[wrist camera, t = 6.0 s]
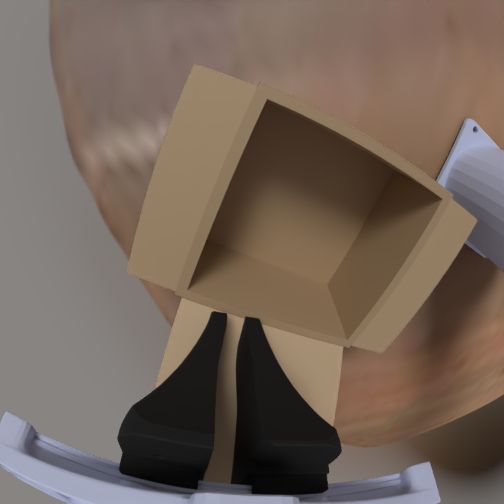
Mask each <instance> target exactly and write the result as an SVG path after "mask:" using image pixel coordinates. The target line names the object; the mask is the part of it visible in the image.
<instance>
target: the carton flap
mask: <svg viewBox="0 0 504 504" xmlns="http://www.w3.org/2000/svg"><path fill="white" fill-rule="evenodd" d="M213 311H217V312H223V311H220V310H217V309H214V308H211V307H208V306H205V305H202V304H199V303H196V302H193V301H190V300H187V299H184V298H182V299H181V301H180V304H179V308H178V311H177V314H176V317H175V320H174V324H173V327H172V330H171V333H170V337H169V340H168V343H167V347H166V350H165V354H164V357H163V360H162V364H161V367H160V371H159V374H158V378H157V381H156V385H155V389H156V388H157V387H158V386H159V385H160V384H162V383H163V382H164V381H165V380H166V379H167V378H168V377H169V376H170V375H171V374H172V373H173V372H174V371H175V370H176V369H177V367H178V366H179V365H180V364H181V363H182V362H183V360H184V359H185V358H186V357H187V355H188V354H189V353H190V351H191V350H192V348H193V347H194V346H195V344H196V343H197V341H198V339H199V338H200V336H201V334H202V333H203V331H204V329H205V327H206V325H207V323H208V321H209V318H210V315H211V312H213ZM223 313H226V312H223ZM244 320H245V319H244V318H241V317H238V316H235V315H232V314H229V313H227V326H226V331H225V335H224V340H223V344H222V349H221V354H220V358H219V363H218V374H217V388H216V407H215V438H214V449H213V452H212V455H211V459H210V462H209V465H208V468H207V470H206V472H205V475H204V479H203V481H207V482H215V483H225V484H231V476H232V467H233V456H234V445H235V433H236V419H237V395H236V356H237V347H238V342H239V339H240V335H241V331H242V327H243V324H244ZM262 327H263V330H264V332H265V335H266V337H267V340H268V342H269V344H270V347H271V349H272V351H273V353H274V355H275V357H276V359H277V361H278V363H279V364H280V366H281V368H282V370H283V371H284V373H285V374H286V376H287V378H288V379H289V381H290V382H291V383H292V385H293V386H294V388H295V389H296V390H297V391H298V393H299V394H300V395H301V396H302V398H303V399H304V400H305V401H306V402H307V403H308V404H309V405H310V407H311V408H312V409H313V410H314V411H315V412H316V413H317V414H318V415H319V416H321V417H322V418H323V419H324V420H325V421H326V422H328V423H329V424H330V425H331V426H333V424H334V418H335V411H336V404H337V397H338V390H339V382H340V373H341V364H342V354H343V347H342V346H338V345H334V344H331V343H327V342H323V341H319V340H316V339H312V338H308V337H305V336H301V335H298V334H294V333H291V332H287V331H284V330H280V329H277V328H274V327H270V326H267V325H264V324H262ZM155 389H154V390H155Z"/></svg>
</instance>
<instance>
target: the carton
mask: <svg viewBox="0 0 504 504" xmlns="http://www.w3.org/2000/svg"><path fill="white" fill-rule="evenodd" d="M452 197H453V194H452V193H451V192H449V191H448V190H447V189H445V188H444V187H443V186H442V185H440V184H439V183H438V182H436V181H435V180H434V179H432V178H431V177H430V176H428V175H427V174H425V173H424V172H423V171H421V170H420V169H418V168H417V167H416V166H414V165H413V164H411V163H410V162H408V161H407V160H405V159H404V158H402V157H401V156H399V155H398V154H396V153H395V152H393V151H392V150H390V149H389V148H387V147H386V146H384V145H382V144H381V143H379V142H377V141H376V140H374V139H373V138H371V137H369V136H368V135H366V134H364V133H363V132H361V131H359V130H357V129H356V128H354V127H352V126H350V125H349V124H347V123H345V122H343V121H341V120H339V119H338V118H336V117H334V116H332V115H330V114H328V113H326V112H324V111H322V110H320V109H318V108H316V107H314V106H312V105H310V104H308V103H306V102H304V101H302V100H300V99H298V98H296V97H294V96H291V95H289V94H287V93H285V92H283V91H280V90H278V89H276V88H273V87H271V86H269V85H266V84H264V83H261V82H260V83H259V85H258V86H255V85H253V84H250V83H248V82H245V81H242V80H240V79H237V78H234V77H232V76H229V75H226V74H223V73H221V72H218V71H215V70H212V69H209V68H206V67H203V66H200V65H196V64H194V65H193V68H192V70H191V72H190V74H189V77H188V79H187V81H186V84H185V86H184V88H183V91H182V93H181V96H180V98H179V101H178V103H177V106H176V108H175V111H174V114H173V116H172V119H171V121H170V124H169V127H168V130H167V132H166V135H165V138H164V141H163V144H162V147H161V149H160V152H159V155H158V158H157V161H156V164H155V168H154V171H153V174H152V177H151V180H150V184H149V187H148V190H147V194H146V197H145V201H144V204H143V208H142V211H141V215H140V219H139V223H138V227H137V230H136V234H135V238H134V243H133V247H132V251H131V255H130V260H129V264H128V269H127V273H128V274H131V275H133V276H136V277H138V278H141V279H143V280H146V281H149V282H151V283H154V284H157V285H159V286H162V287H165V288H168V289H170V290H173V291H175V294H174V295H177V296H180V297H183V298H186V299H188V300H191V301H194V302H197V303H200V304H203V305H206V306H209V307H212V308H215V309H218V310H221V311H224V312H227V313H230V314H233V315H236V316H239V317H242V318H245V316H247V317H254V318H259V319H260V321H261V324H265V325H268V326H271V327H275V328H278V329H282V330H285V331H288V332H292V333H295V334H299V335H302V336H306V337H310V338H313V339H317V340H321V341H324V342H328V343H332V344H336V345H340V346H343V347H347V348H350V346H355V347H359V348H363V349H367V350H371V351H375V352H379V353H383V352H384V351H385V350H386V348H387V347H388V346H389V345H390V344H391V343H392V342H393V340H394V339H395V338H396V337H397V336H398V334H399V333H400V332H401V331H402V330H403V328H404V327H405V326H406V325H407V324H408V322H409V321H410V320H411V319H412V317H413V316H414V315H415V314H416V312H417V311H418V310H419V308H420V307H421V306H422V305H423V303H424V302H425V301H426V299H427V298H428V297H429V295H430V294H431V292H432V291H433V290H434V288H435V287H436V285H437V284H438V283H439V281H440V280H441V278H442V277H443V275H444V274H445V273H446V271H447V270H448V268H449V267H450V265H451V264H452V262H453V261H454V259H455V257H456V256H457V254H458V253H459V251H460V250H461V248H462V246H463V245H464V243H465V241H466V240H467V238H468V236H469V235H470V233H471V231H472V230H473V228H474V226H475V224H476V223H477V221H478V220H477V219H476V218H475V217H474V216H473V215H471V214H470V213H469V212H468V211H467V210H465V209H464V208H463V207H462V206H461V205H459V204H458V203H457V202H456V201H454V200H453V199H452Z"/></svg>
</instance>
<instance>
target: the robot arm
mask: <svg viewBox="0 0 504 504" xmlns="http://www.w3.org/2000/svg"><path fill="white" fill-rule="evenodd" d="M473 128H474V129H475V130H474V132H473ZM436 182H438V183H439V184H440V185H442V186H443V187H444V188H445V189H447V190H448V191H449V192H451V193H452V194H453V197H452V199H453V200H454V201H456V202H457V203H458V204H459V205H461V206H462V207H463V208H464V209H465V210H467V211H468V212H469V213H470V214H471V215H473V216H474V217H475V218H476V219H477V220H478V221H477V223H476V224H475V226H474V228H473V230H472V231H471V233H470V235H469V236H468V238H467V240H466V241H465V244H466V245H468V246H469V247H470V248H472V249H473V250H474V251H476V252H477V253H478V254H480V255H481V256H482V257H484V258H488V259H489V260H491V261H492V262H493V263H494V264H495V265H496V266H497V267H498V268H499V269H500V270H501V271H502V272H503V273H504V151H503V150H501V149H500V148H499V147H498V146H497V145H496V144H495V143H494V142H493V140H492V139H491V138H490V137H489V136H488V135H487V134H486V133H485V132H484V131H483V130H482V129H481V128H480V127H479V125H478V124H477V123H476V122H475V121H474V120H472V119H468V118H467V119H465V121H464V123H463V125H462V127H461V130H460V132H459V134H458V136H457V139H456V141H455V143H454V145H453V147H452V149H451V151H450V154H449V156H448V158H447V160H446V162H445V164H444V166H443V168H442V170H441V172H440V174H439V176H438V178H437V179H436ZM226 326H227V313H223V312H217V311H213V312H211V315H210V318H209V321H208V323H207V325H206V327H205V329H204V331H203V333H202V334H201V336H200V338H199V339H198V341H197V343H196V344H195V346H194V347H193V348H192V350H191V351H190V353H189V354H188V355H187V357H186V358H185V359H184V360H183V362H182V363H181V364H180V365H179V366H178V367H177V369H176V370H175V371H174V372H173V373H172V374H171V375H170V376H169V377H168V378H167V379H166V380H165V381H164V382H163V383H162V384H160V385H159V386H158V387H157V388H156V389H155V390H153V391H152V392H151V393H150V394H148V395H147V396H146V397H144V398H143V399H141V400H140V401H139V402H137V403H136V404H134V405H133V406H132V407H131V409H130V410H129V412H128V413H127V415H126V417H125V418H124V420H123V422H122V424H121V427H120V430H119V434H118V442H119V445H120V447H121V449H122V452H123V454H122V458H121V462H120V464H119V463H116V462H113V461H110V460H106V459H103V458H100V457H97V456H94V455H91V454H88V453H86V452H83V451H80V450H78V449H75V448H73V447H70V446H68V445H65V444H62V443H60V442H58V441H55V440H53V439H51V438H49V437H47V436H44V435H42V434H40V433H38V432H36V431H35V429H34V428H33V426H32V425H31V424H29V423H28V422H27V421H25V420H23V419H21V418H19V417H18V416H16V415H14V414H12V413H10V412H8V411H6V412H5V414H4V416H3V419H2V420H1V423H0V466H1V467H3V468H4V469H5V470H7V471H8V472H9V473H11V474H12V475H13V476H15V477H17V478H19V479H20V480H22V481H24V482H26V483H28V484H29V485H31V486H33V487H35V488H37V489H39V490H41V491H43V492H45V493H47V494H49V495H51V496H53V497H55V498H57V499H59V500H61V501H64V502H66V503H68V504H437V503H439V502H440V497H439V493H438V489H437V486H436V482H435V479H434V475H433V472H432V468H431V465H430V462H424V463H420V464H416V465H413V466H410V467H407V468H406V469H404V470H403V471H401V472H400V473H398V474H393V475H388V476H383V477H378V478H372V479H366V480H359V481H351V482H343V483H333V484H328V481H327V474H328V473H329V467H328V465H329V464H330V463H331V462H332V461H334V460H335V459H336V458H337V457H338V456H339V455H340V453H341V451H342V449H341V444H340V440H339V437H338V434H337V431H336V429H335V428H334V427H333V426H331V425H330V424H329V423H328V422H326V421H325V420H324V419H323V418H322V417H321V416H319V415H318V414H317V413H316V412H315V411H314V410H313V409H312V408H311V407H310V405H309V404H308V403H307V402H306V401H305V400H304V399H303V398H302V396H301V395H300V394H299V393H298V391H297V390H296V389H295V388H294V386H293V385H292V383H291V382H290V381H289V379H288V378H287V376H286V374H285V373H284V371H283V370H282V368H281V366H280V364H279V363H278V361H277V359H276V357H275V355H274V353H273V351H272V349H271V347H270V344H269V342H268V340H267V337H266V335H265V332H264V330H263V327H262V324H261V321H260V319H259V318H254V317H247V316H245V320H244V324H243V327H242V331H241V335H240V339H239V342H238V347H237V356H236V395H237V419H236V433H235V445H234V456H233V467H232V476H231V484H225V483H215V482H207V481H203V479H204V475H205V472H206V470H207V468H208V465H209V462H210V459H211V455H212V452H213V449H214V438H215V407H216V388H217V374H218V363H219V358H220V354H221V349H222V344H223V340H224V335H225V331H226Z"/></svg>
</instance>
